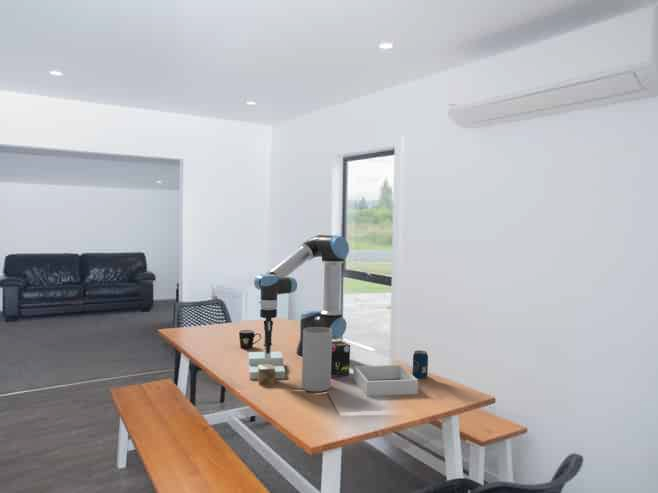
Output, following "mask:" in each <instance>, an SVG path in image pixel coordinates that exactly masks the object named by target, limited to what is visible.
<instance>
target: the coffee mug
mask: <svg viewBox="0 0 658 493" xmlns="http://www.w3.org/2000/svg"><path fill="white" fill-rule="evenodd" d="M256 335H258V336H259V338H258V340H256V341H255V342H254V338H255V337H256ZM238 336H239V345H240V346H239V347H240V349H244V350H250V349H252V348H253V345H255V344H256V343H258V342H259V341H260V340H261V338H262V335H261V334H260V333H255V330H253V329H239V331H238Z"/></svg>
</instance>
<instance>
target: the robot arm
mask: <svg viewBox="0 0 658 493" xmlns="http://www.w3.org/2000/svg"><path fill="white" fill-rule="evenodd" d="M349 253H350V246H349V242H348V240H347V239H346V238H345V237H343V236H342V235H331V234H330V235H328V234H326V235H324V234H317V235H315V236H313V237H311V238H309V239H307V240H305V241H304V242H303V243H301V244H299V247H298V249H296V250H295V251H294V252H293V253H291V254H290V255H289V256H287V257H286V258H285V259H283V260H282V261H281V262H280V263H278V264H277V265H276V266H274V267H273V268H272V269H271V270H269V271H268V272H266V273H265V274H258V275H257V276H256V277H255V278H254V281H253V284H254V287H255V288H256V289H257V290H259V291H260V301H258V304H260V310H259V311H260V312H259V315H260V318H262V319H265V320H263V326H264V327H263V328H264V344H263V347H264V352H265V357H264V360H271V352H272V345H273V343H272V335H273V326H274V322H273V320H272V319H275V318H277V316H278V295H285V294H286V295H287V294H292V293H295V292H296V290H297V289H298V282H297V280H296V278H295V277H292V276H291V277H289V275H291V274H292V273H293V272H295V271H296V270H297V269H298V268H299V267H301V266H302V265H303V264H304V263H306V262H307V261H311V260H313V259H314V258H317V257H321V262H322V263H323V265H324V271H323V272H324V273H323V274H324V275H323V304H322V305H323V307H322V309H321V310H308V311H303V312H301V314H300V321H299V322H300V329H299V330H300V336H299V337H300V338H299V341H298V344H297V347H296V354H297V355H298V356H303V329H305V328H309V327H324V328H329V329H332V340H339V339H341V338H342V337H343V335H344V334H345V332H346V330H347V321H346V319H345V318H344V317H343V312H342V311H341V309H340V306H341V305H340V302H341V277H342V276H341V275H342V274H341V272H342V271H341V270H342V269H341V268H342V264H343V263H344V262H345V259H346V258H347V257H348V255H349Z"/></svg>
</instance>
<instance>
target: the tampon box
mask: <svg viewBox="0 0 658 493" xmlns="http://www.w3.org/2000/svg"><path fill="white" fill-rule="evenodd" d="M350 358H351V344H348V343H346V342H344V341H342V340H336V341H332V357H331V379H333V378H339V377H345V376H346V377H347V376H349V375H350V361H351V360H350Z"/></svg>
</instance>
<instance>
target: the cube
mask: <svg viewBox="0 0 658 493" xmlns="http://www.w3.org/2000/svg"><path fill="white" fill-rule="evenodd" d="M257 381H258V383H257V384H258V386H259V385H260V386H261V385H275V384H276V379H275V366H274V364H258V379H257Z"/></svg>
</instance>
